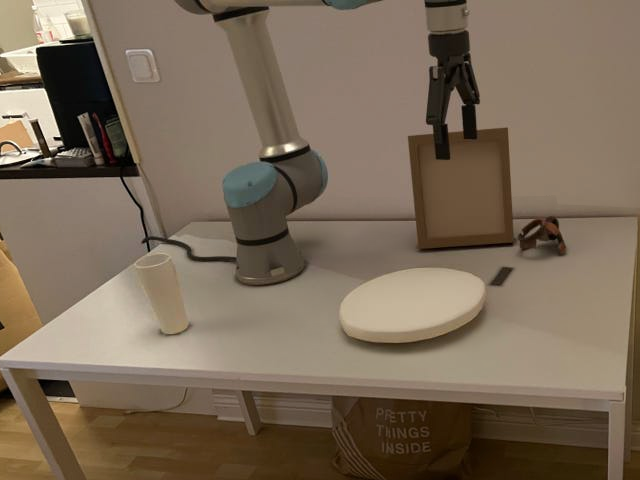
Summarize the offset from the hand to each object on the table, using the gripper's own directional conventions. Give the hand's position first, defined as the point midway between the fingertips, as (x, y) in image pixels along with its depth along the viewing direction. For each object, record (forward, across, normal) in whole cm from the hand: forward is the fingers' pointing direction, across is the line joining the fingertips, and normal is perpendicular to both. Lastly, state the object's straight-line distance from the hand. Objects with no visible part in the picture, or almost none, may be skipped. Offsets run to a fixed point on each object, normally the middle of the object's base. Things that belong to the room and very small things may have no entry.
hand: (457, 148), depth 140 cm
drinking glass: (+27, -39, +47) cm, 67 cm away
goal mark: (+26, -2, -9) cm, 27 cm away
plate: (+26, -22, +2) cm, 34 cm away
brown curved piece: (+26, +13, -13) cm, 32 cm away
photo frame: (+26, +16, +7) cm, 32 cm away
